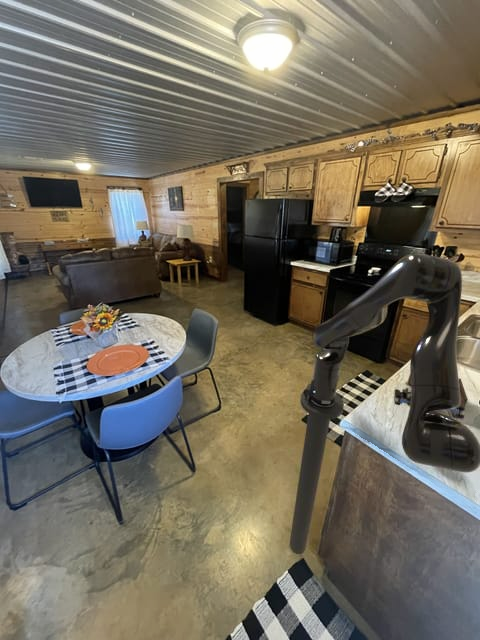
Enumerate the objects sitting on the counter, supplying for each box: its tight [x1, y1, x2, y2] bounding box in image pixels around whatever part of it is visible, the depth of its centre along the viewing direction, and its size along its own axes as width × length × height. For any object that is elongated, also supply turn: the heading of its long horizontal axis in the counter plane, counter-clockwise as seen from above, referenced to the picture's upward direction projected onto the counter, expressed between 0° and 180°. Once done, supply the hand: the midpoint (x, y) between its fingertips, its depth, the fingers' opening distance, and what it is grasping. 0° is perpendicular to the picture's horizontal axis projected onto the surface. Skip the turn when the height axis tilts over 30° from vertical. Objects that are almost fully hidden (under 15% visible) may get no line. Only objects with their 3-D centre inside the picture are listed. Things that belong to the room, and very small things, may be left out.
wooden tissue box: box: [406, 372, 469, 418], centre depth 100 cm, size 16×14×8 cm
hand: (424, 395), depth 72 cm, fingers open, 8 cm apart
